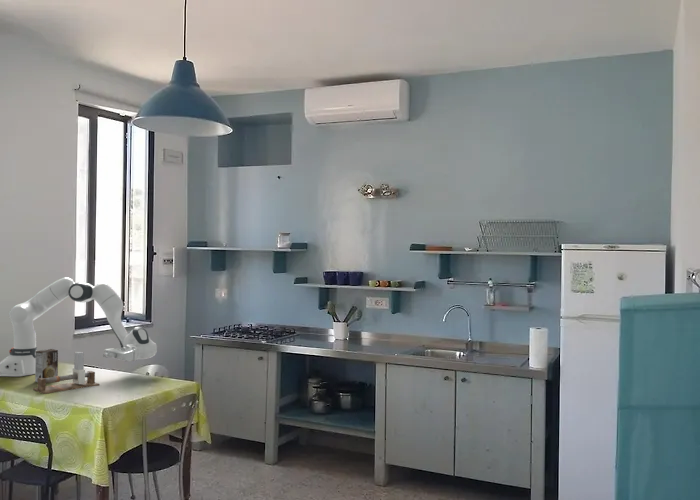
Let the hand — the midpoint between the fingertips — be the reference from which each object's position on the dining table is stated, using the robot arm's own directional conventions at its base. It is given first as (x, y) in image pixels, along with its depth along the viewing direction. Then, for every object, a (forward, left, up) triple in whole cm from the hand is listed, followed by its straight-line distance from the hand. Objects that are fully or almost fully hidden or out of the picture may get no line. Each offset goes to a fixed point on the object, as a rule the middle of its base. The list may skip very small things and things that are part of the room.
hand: (104, 355), depth 337 cm
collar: (-11, -8, -12) cm, 18 cm away
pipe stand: (-16, -12, -14) cm, 24 cm away
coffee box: (-30, +5, -14) cm, 33 cm away
